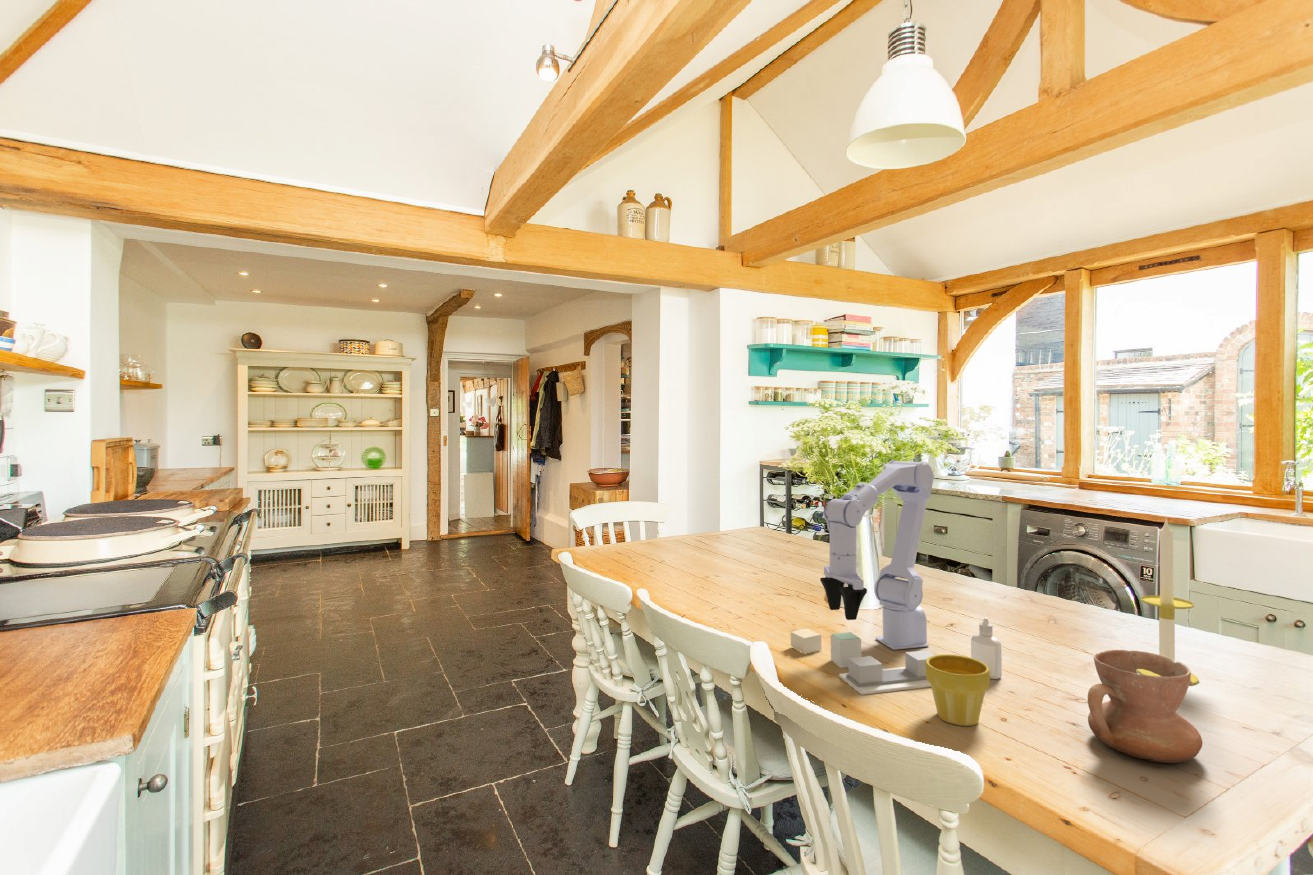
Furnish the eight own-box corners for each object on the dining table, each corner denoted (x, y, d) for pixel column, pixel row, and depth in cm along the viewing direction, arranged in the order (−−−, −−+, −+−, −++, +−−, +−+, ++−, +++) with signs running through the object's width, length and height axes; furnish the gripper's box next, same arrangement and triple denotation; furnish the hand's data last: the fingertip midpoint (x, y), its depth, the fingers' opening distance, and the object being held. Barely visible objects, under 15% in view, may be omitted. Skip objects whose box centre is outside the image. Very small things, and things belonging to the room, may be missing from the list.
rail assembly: (924, 667, 135) (924, 646, 135) (951, 684, 126) (951, 661, 126) (839, 676, 131) (838, 654, 131) (861, 694, 122) (860, 671, 122)
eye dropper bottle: (983, 680, 127) (983, 622, 127) (968, 670, 133) (968, 614, 133) (1004, 679, 127) (1004, 622, 127) (988, 669, 133) (988, 613, 133)
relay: (807, 644, 150) (807, 628, 150) (821, 651, 146) (821, 634, 146) (790, 648, 148) (790, 631, 148) (804, 655, 144) (804, 638, 144)
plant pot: (935, 699, 119) (934, 649, 119) (995, 714, 113) (995, 661, 113) (919, 720, 111) (918, 666, 111) (982, 737, 105) (982, 680, 105)
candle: (1155, 662, 134) (1154, 513, 134) (1210, 680, 125) (1210, 519, 124) (1125, 670, 131) (1124, 516, 130) (1179, 689, 121) (1178, 523, 121)
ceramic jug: (1149, 722, 109) (1146, 642, 108) (1236, 767, 94) (1233, 674, 94) (1055, 733, 106) (1052, 651, 106) (1129, 780, 92) (1125, 685, 92)
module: (851, 658, 141) (851, 631, 141) (861, 666, 136) (861, 638, 136) (831, 660, 140) (830, 633, 140) (840, 668, 136) (840, 640, 135)
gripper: (811, 547, 144) (811, 606, 144) (841, 560, 130) (841, 625, 130) (840, 546, 146) (839, 604, 146) (872, 559, 131) (872, 623, 131)
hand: (842, 614), depth 138 cm, fingers open, 7 cm apart
